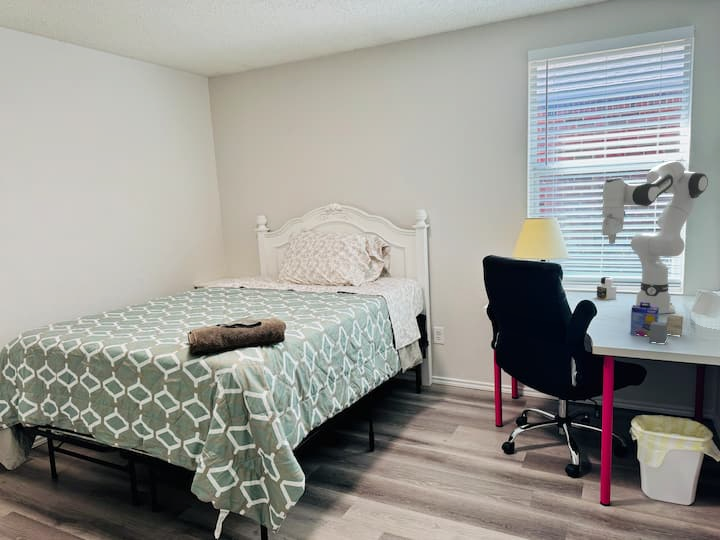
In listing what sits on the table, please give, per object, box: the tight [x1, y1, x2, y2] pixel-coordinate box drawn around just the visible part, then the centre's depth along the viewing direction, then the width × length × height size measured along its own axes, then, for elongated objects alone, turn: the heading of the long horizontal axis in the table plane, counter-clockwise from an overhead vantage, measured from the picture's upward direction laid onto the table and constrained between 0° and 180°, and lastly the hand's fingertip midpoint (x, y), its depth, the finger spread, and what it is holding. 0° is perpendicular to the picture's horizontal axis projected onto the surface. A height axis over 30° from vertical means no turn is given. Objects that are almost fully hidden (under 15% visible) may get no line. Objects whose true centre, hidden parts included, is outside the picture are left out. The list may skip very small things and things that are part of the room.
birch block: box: [666, 314, 684, 336], centre depth 210 cm, size 5×5×8 cm
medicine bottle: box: [596, 276, 617, 301], centre depth 282 cm, size 7×7×12 cm
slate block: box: [649, 321, 668, 344], centre depth 201 cm, size 5×5×8 cm
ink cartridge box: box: [629, 302, 660, 336], centre depth 211 cm, size 10×6×14 cm, turn 55°
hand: (612, 243), depth 230 cm, fingers closed
